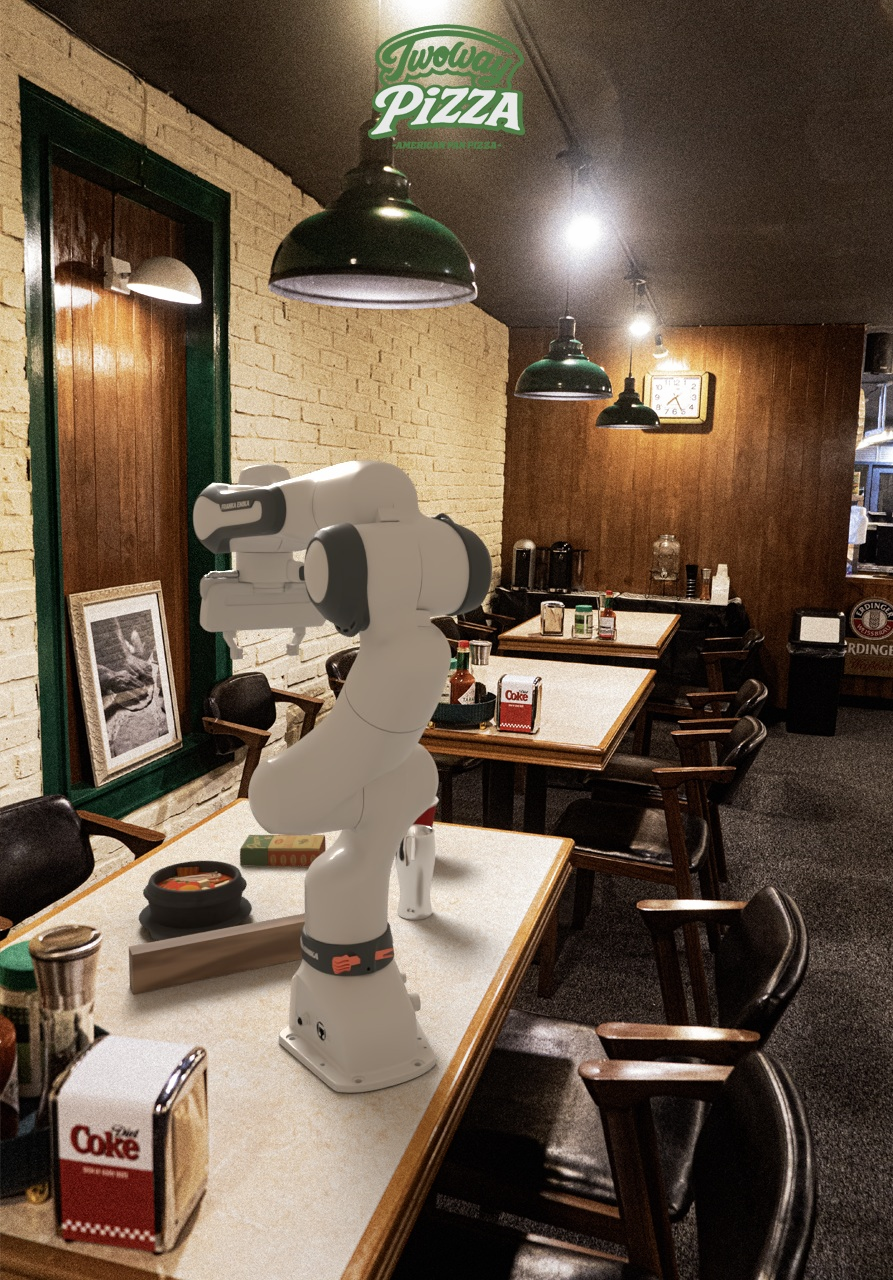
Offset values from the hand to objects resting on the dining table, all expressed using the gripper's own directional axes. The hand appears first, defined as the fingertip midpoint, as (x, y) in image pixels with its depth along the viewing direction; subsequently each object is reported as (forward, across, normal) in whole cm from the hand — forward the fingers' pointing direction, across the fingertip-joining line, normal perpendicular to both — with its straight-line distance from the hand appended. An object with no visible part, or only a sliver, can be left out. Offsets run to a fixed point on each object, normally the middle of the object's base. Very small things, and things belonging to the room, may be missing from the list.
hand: (265, 657), depth 152 cm
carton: (+47, +16, +31) cm, 59 cm away
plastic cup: (+47, +39, +20) cm, 64 cm away
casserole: (+47, -8, +10) cm, 49 cm away
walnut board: (+46, -10, -9) cm, 48 cm away
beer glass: (+46, +25, -6) cm, 53 cm away
